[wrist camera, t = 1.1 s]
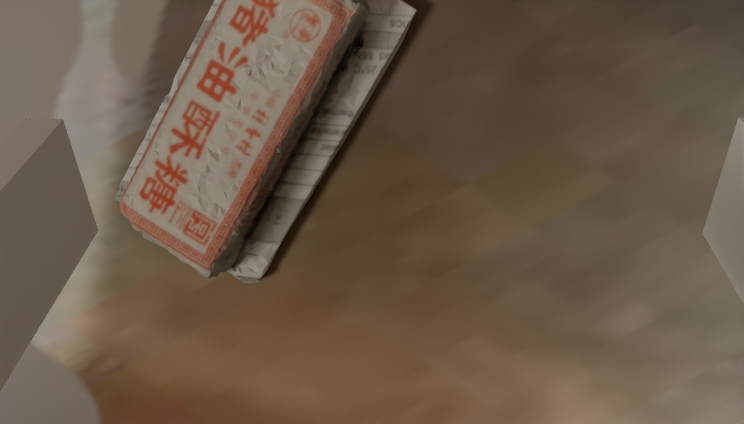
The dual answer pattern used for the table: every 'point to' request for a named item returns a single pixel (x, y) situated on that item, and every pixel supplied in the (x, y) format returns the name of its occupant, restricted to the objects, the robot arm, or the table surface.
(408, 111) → the table surface
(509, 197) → the table surface
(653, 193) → the table surface
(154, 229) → the packaged product
